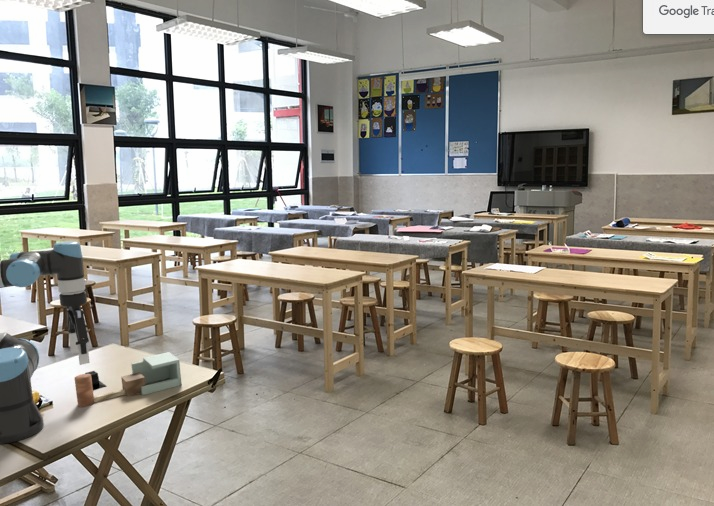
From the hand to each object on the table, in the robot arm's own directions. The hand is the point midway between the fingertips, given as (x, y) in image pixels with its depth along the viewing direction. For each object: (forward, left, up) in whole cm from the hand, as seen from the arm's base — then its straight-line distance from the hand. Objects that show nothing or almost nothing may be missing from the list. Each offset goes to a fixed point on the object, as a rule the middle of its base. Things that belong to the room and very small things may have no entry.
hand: (80, 358), depth 188 cm
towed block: (+8, 0, -15) cm, 17 cm away
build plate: (+5, +16, -16) cm, 23 cm away
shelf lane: (+23, 0, -15) cm, 27 cm away
